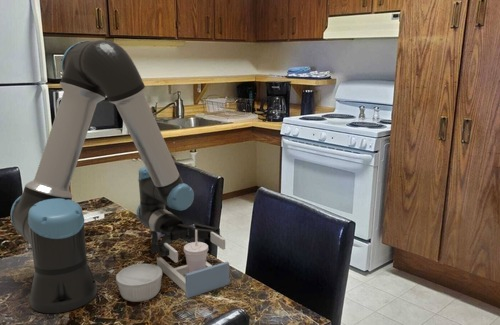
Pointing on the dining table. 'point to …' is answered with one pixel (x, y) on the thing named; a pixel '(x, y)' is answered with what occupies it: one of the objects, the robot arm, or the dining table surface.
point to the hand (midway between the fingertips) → (201, 250)
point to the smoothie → (196, 255)
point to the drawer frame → (197, 277)
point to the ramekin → (139, 282)
